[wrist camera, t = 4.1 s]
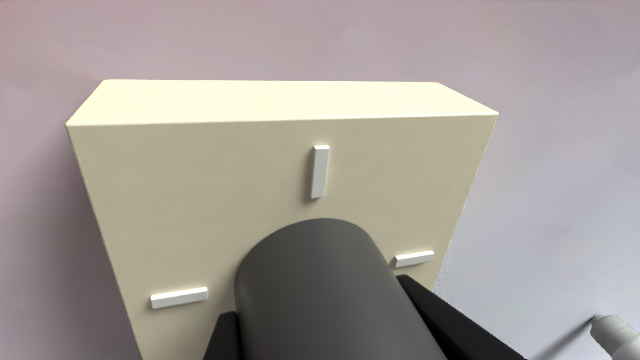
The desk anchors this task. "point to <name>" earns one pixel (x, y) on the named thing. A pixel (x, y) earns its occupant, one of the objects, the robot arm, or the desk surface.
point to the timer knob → (325, 299)
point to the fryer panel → (264, 183)
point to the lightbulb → (616, 337)
